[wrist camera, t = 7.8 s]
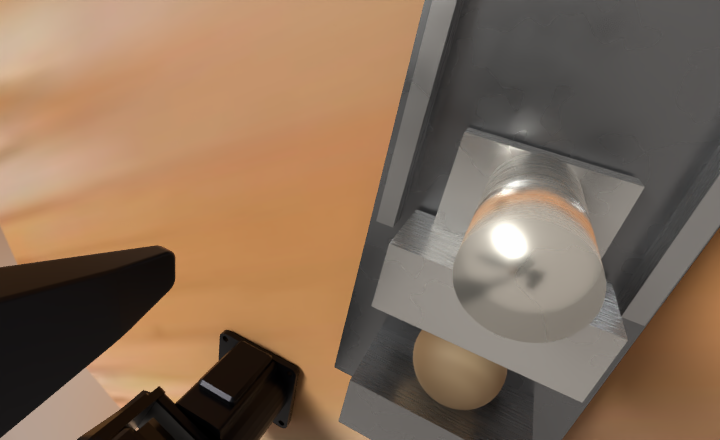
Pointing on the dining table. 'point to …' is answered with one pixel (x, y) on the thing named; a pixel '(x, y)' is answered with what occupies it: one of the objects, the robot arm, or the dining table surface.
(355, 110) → the dining table surface
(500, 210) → the ram
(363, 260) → the press base
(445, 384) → the tan ball
